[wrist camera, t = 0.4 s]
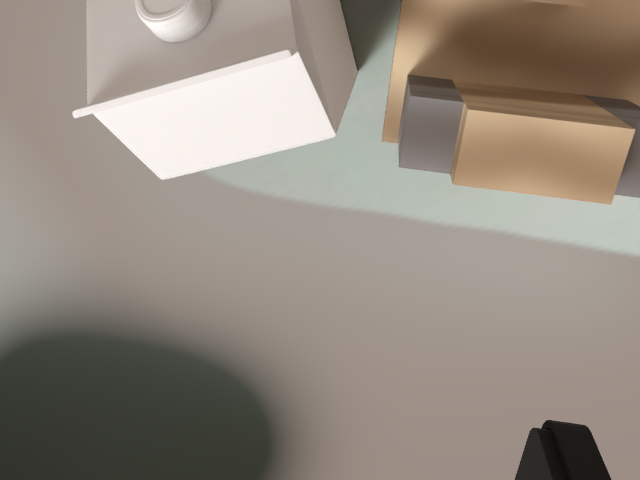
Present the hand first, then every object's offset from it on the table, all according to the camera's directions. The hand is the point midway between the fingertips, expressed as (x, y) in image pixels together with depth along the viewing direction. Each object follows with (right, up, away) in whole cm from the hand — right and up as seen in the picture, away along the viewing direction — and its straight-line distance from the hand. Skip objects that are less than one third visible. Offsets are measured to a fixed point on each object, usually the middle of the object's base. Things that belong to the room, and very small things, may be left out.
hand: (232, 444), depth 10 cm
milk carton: (-1, +16, +25) cm, 30 cm away
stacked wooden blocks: (+13, +15, +24) cm, 31 cm away
